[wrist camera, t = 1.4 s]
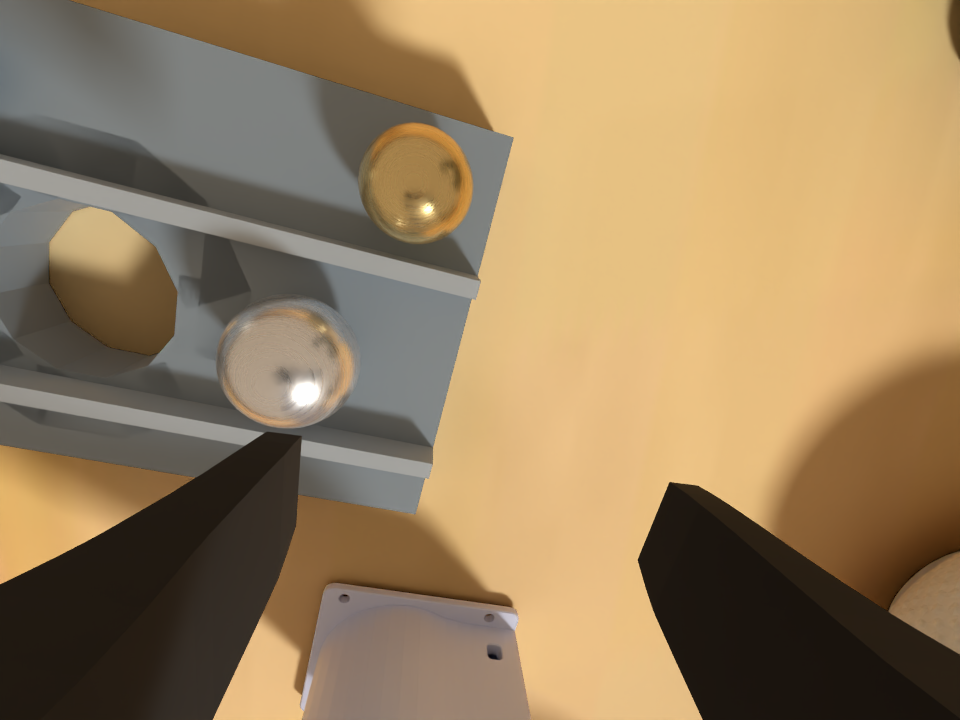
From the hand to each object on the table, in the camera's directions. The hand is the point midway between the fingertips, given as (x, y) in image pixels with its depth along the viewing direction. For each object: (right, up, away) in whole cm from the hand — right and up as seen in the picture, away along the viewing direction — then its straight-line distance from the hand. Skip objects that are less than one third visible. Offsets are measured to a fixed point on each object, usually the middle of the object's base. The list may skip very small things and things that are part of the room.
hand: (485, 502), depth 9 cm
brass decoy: (-2, +8, +4) cm, 9 cm away
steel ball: (-6, +3, +5) cm, 8 cm away
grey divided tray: (-9, +6, +8) cm, 14 cm away
